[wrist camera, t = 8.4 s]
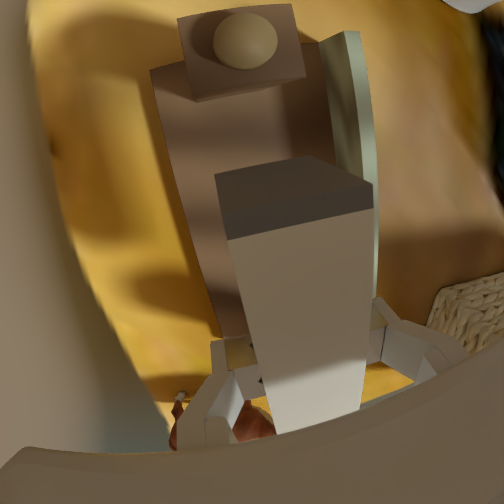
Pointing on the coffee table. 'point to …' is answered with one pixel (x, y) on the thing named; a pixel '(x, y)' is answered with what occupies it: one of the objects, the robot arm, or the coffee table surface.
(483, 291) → the storage basket
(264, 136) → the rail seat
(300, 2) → the coffee table surface
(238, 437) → the bull figurine
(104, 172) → the coffee table surface
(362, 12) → the coffee table surface
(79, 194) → the coffee table surface
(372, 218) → the rail bar
